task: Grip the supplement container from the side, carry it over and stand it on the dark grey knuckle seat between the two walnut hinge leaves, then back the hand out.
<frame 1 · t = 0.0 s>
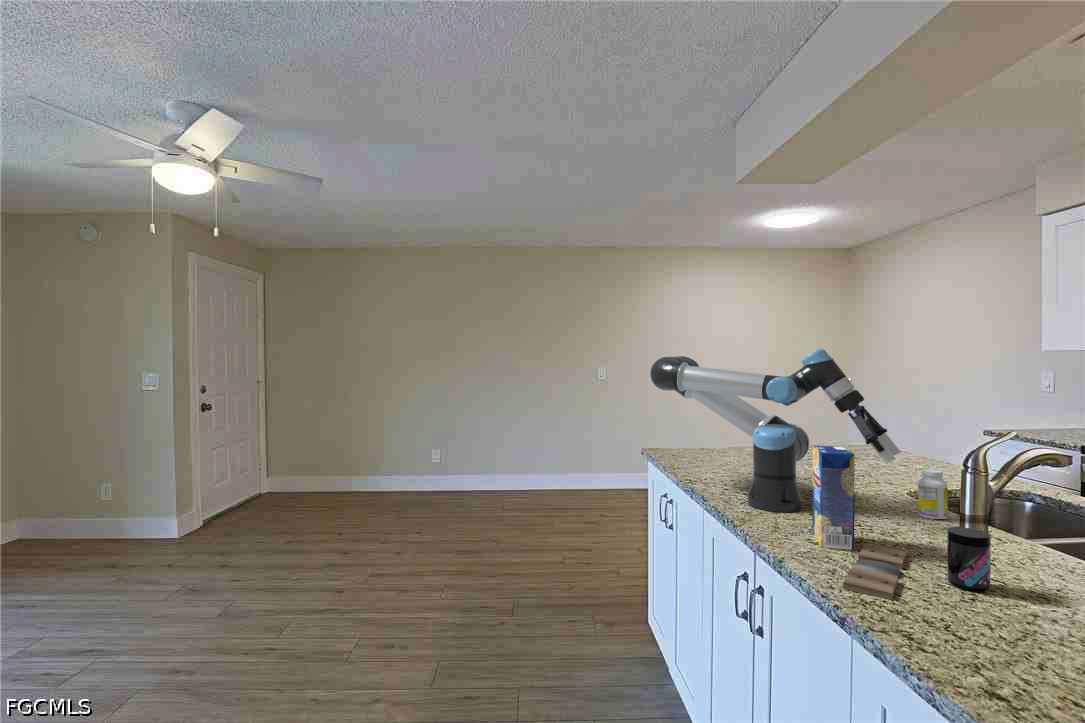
hand: (893, 457, 159), 15 cm above the worktop, tool tilted 35°, fingers open, 13 cm apart
hinge leaves: (877, 571, 116), on the worktop
beverage box: (832, 542, 134), on the worktop
supplement bottle: (932, 518, 153), on the worktop
supplement container: (968, 587, 108), on the worktop
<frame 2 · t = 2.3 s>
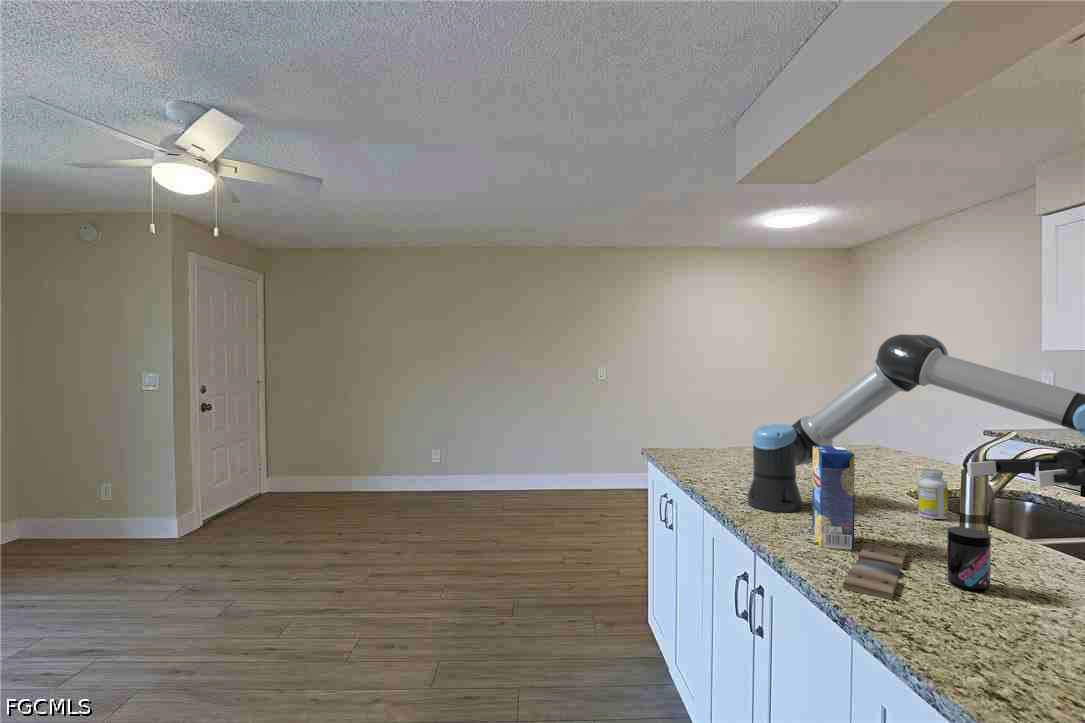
hand: (1001, 474, 112), 21 cm above the worktop, tool horizontal, fingers open, 13 cm apart
nothing on the worktop moved.
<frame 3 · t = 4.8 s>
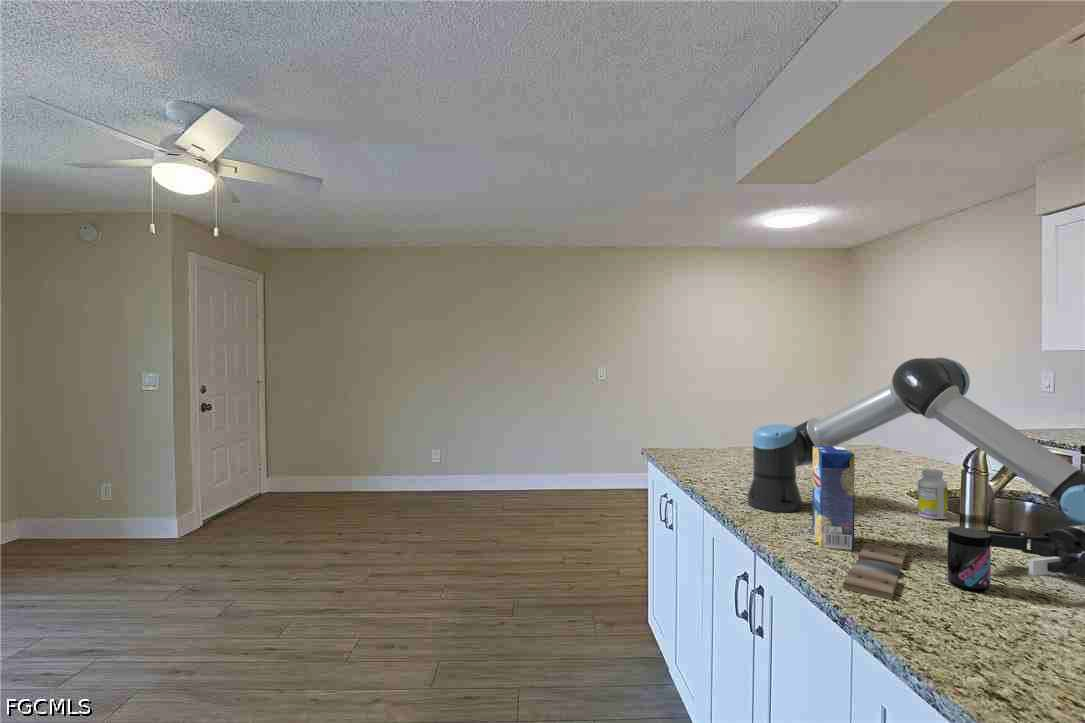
hand: (993, 554, 109), 6 cm above the worktop, tool horizontal, fingers open, 13 cm apart
nothing on the worktop moved.
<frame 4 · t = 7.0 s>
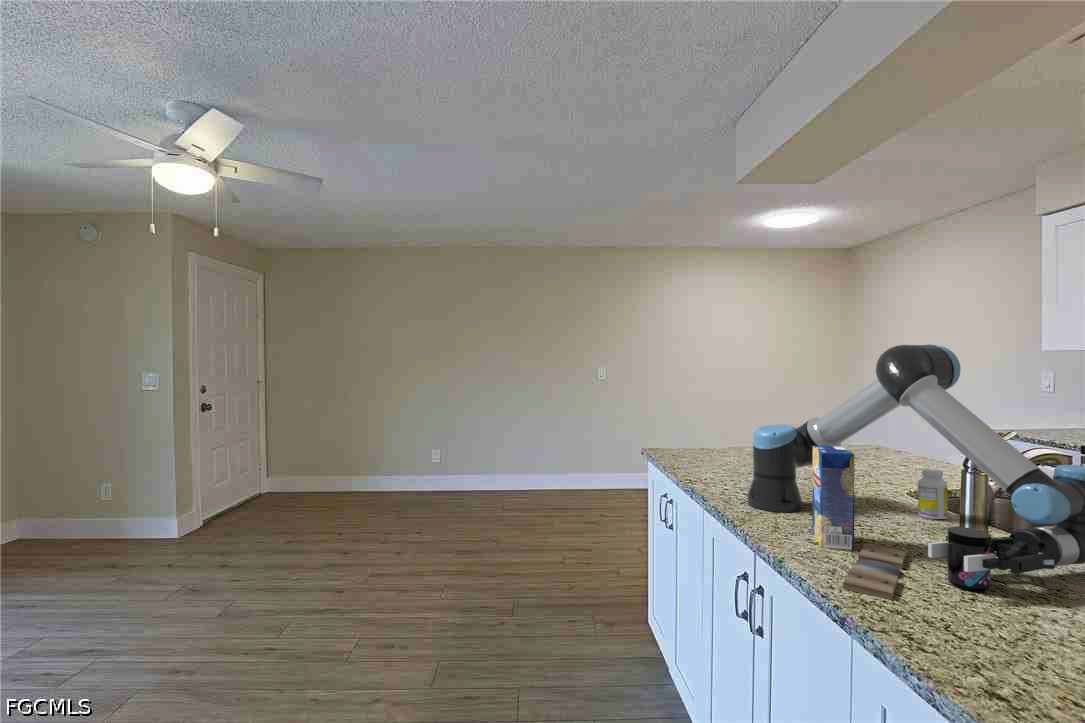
hand: (947, 556, 107), 6 cm above the worktop, tool horizontal, fingers closed on supplement container, 7 cm apart
supplement container: (968, 586, 108), on the worktop, touching gripper
everything else where it was.
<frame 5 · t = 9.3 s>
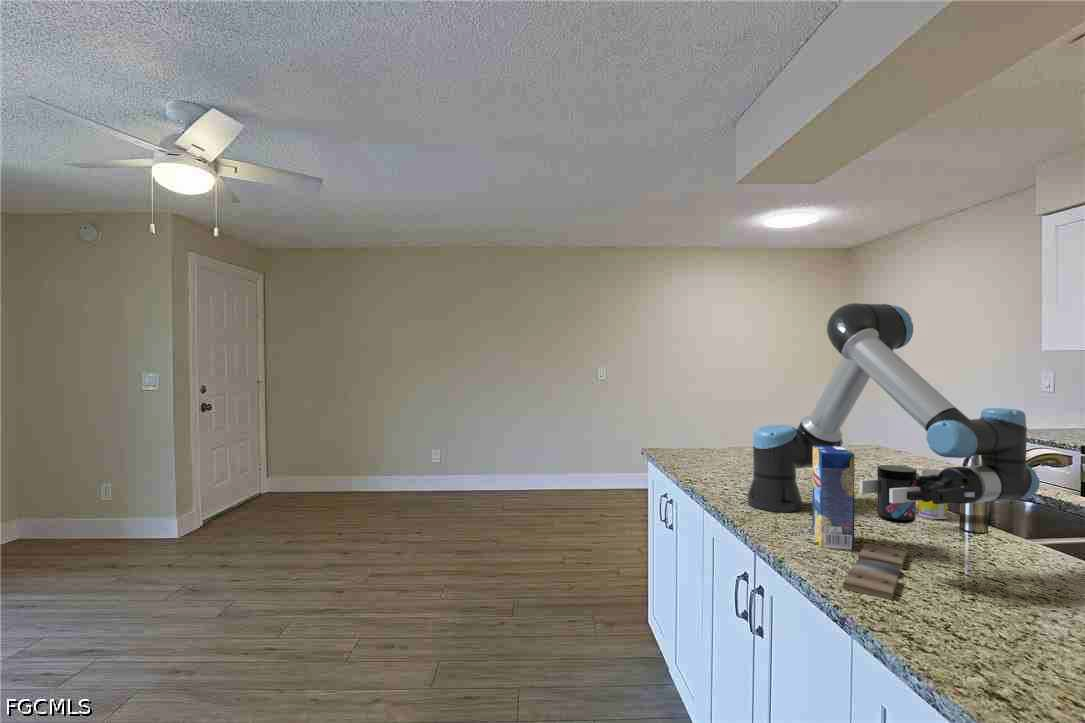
hand: (875, 491, 112), 17 cm above the worktop, tool horizontal, fingers closed on supplement container, 7 cm apart
supplement container: (896, 520, 114), point 11 cm above the worktop, touching gripper
everything else where it was.
when the fingers open (8 cm above the worktop, at t = 11.7 s): supplement container drops 1 cm, resting on hinge leaves.
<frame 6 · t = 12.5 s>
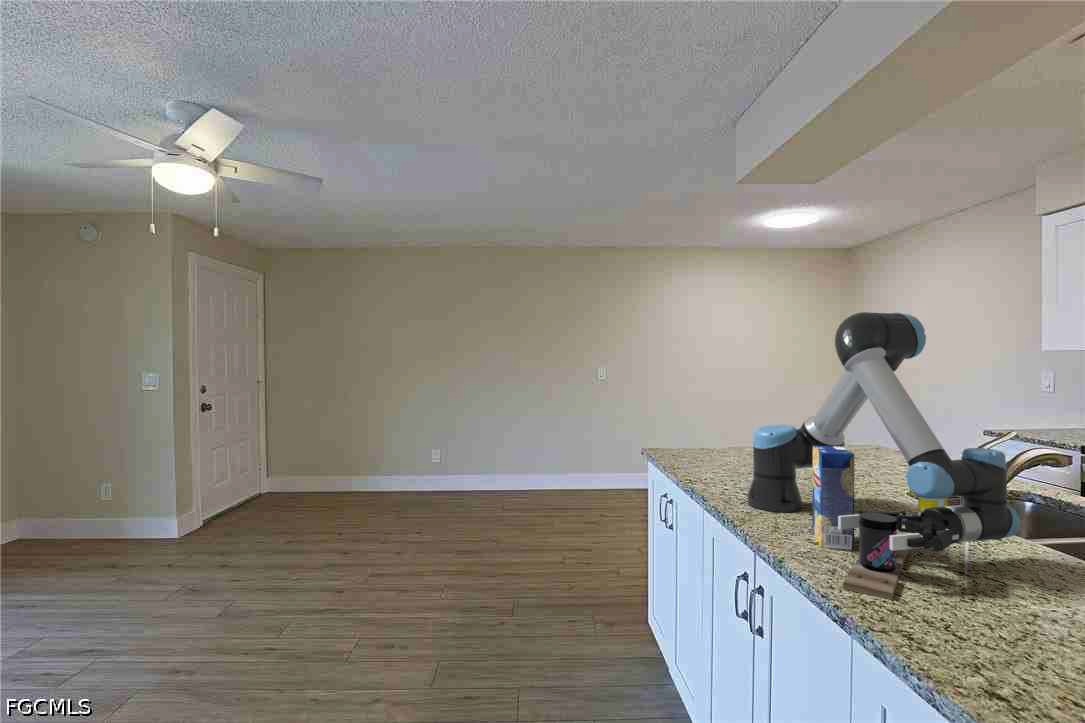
hand: (863, 532, 115), 8 cm above the worktop, tool horizontal, fingers open, 13 cm apart
supplement container: (877, 568, 116), point 1 cm above the worktop, touching hinge leaves
everything else where it was.
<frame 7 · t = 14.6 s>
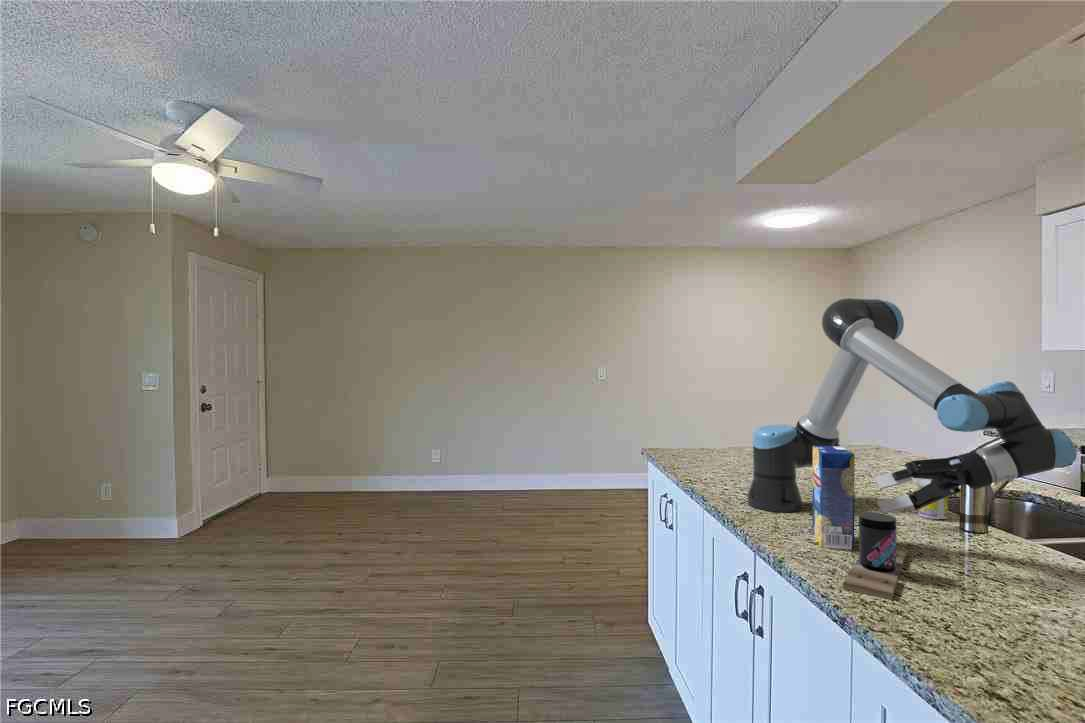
hand: (878, 496, 126), 13 cm above the worktop, tool tilted 70°, fingers open, 13 cm apart
nothing on the worktop moved.
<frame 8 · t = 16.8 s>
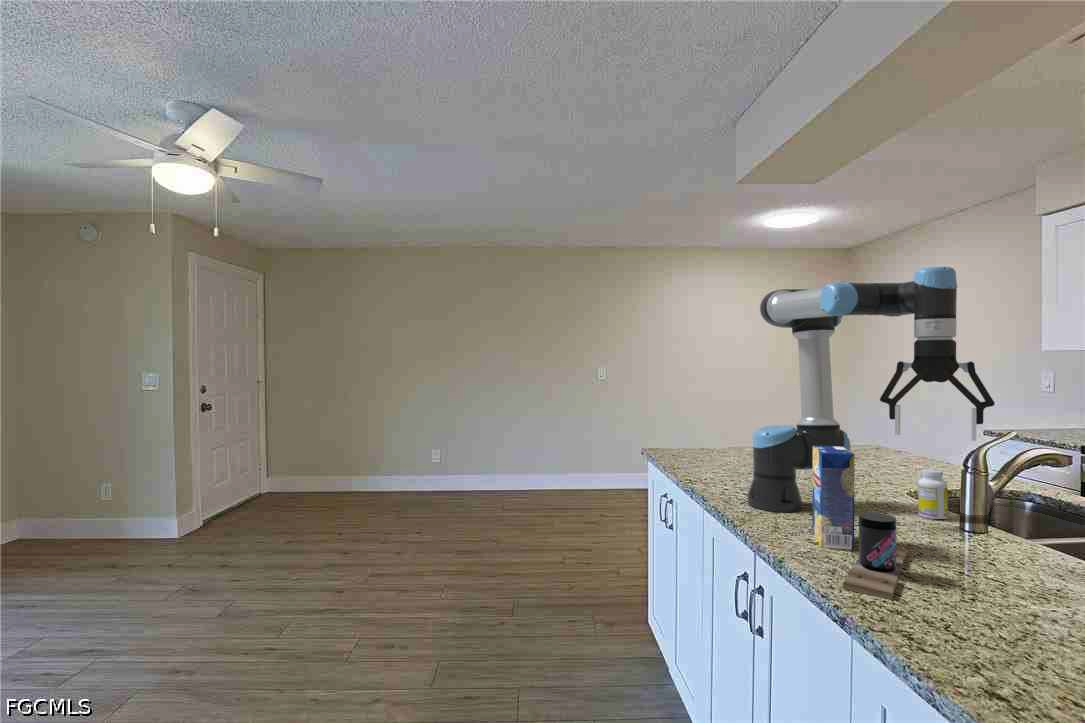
hand: (934, 437, 122), 27 cm above the worktop, tool pointing down, fingers open, 13 cm apart
nothing on the worktop moved.
at the end: supplement container 0.1 cm off-centre on the hinge leaves, point 0.6 cm above the hinge leaves's base; supplement container tilted 0°; the gripper is holding nothing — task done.
